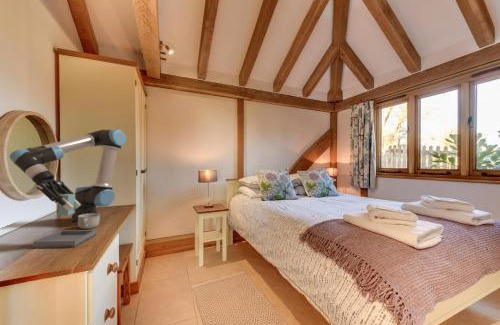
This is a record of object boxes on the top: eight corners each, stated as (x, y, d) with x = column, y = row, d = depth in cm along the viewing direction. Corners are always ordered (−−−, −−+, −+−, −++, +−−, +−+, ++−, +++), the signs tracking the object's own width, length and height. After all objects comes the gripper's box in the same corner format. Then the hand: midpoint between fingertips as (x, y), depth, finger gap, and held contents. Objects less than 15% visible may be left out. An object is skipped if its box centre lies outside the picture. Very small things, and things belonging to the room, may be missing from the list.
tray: (60, 235, 112) (61, 230, 112) (96, 235, 114) (96, 229, 114) (33, 247, 97) (33, 241, 97) (74, 247, 99) (75, 241, 98)
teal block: (65, 213, 107) (65, 193, 107) (74, 213, 108) (75, 194, 108) (58, 215, 103) (58, 195, 103) (67, 215, 103) (68, 195, 103)
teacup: (84, 225, 131) (84, 212, 131) (103, 224, 133) (103, 212, 133) (69, 233, 117) (70, 219, 117) (91, 232, 119) (91, 218, 119)
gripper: (49, 178, 112) (81, 209, 114) (16, 182, 95) (54, 217, 97) (60, 169, 113) (91, 199, 115) (29, 170, 95) (66, 206, 97)
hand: (74, 207), depth 106 cm, fingers closed on teal block, 4 cm apart
